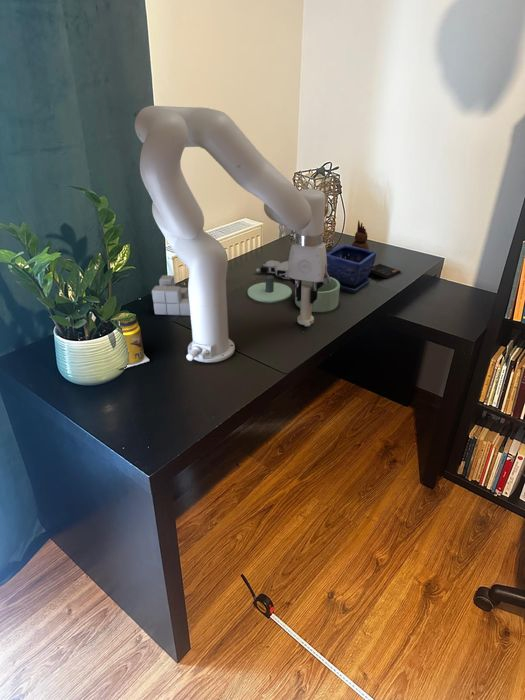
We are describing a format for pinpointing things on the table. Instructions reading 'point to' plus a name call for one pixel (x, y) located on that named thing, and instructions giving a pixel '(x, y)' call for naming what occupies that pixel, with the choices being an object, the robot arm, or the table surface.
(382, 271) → the calculator
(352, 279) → the flower pot
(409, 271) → the table surface
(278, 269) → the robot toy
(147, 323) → the table surface
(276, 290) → the lid
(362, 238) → the wooden figurine
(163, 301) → the puzzle cube
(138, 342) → the condiment
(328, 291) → the bowl
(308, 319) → the beige flanged cylinder
